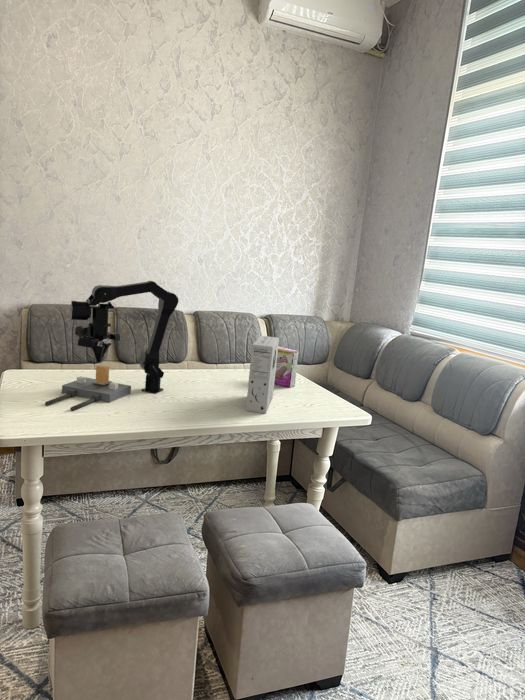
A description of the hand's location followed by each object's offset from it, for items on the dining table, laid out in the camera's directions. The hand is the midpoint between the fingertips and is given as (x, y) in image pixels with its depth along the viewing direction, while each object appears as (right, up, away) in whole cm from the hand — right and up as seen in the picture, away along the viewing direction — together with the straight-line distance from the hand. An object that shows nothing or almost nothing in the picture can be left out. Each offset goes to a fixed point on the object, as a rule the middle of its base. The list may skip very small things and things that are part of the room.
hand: (98, 362), depth 188 cm
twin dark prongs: (-5, -14, -11) cm, 19 cm away
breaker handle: (0, -8, +4) cm, 9 cm away
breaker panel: (-1, -12, +2) cm, 12 cm away
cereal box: (+60, -17, +9) cm, 62 cm away
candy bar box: (+69, -11, +41) cm, 81 cm away
